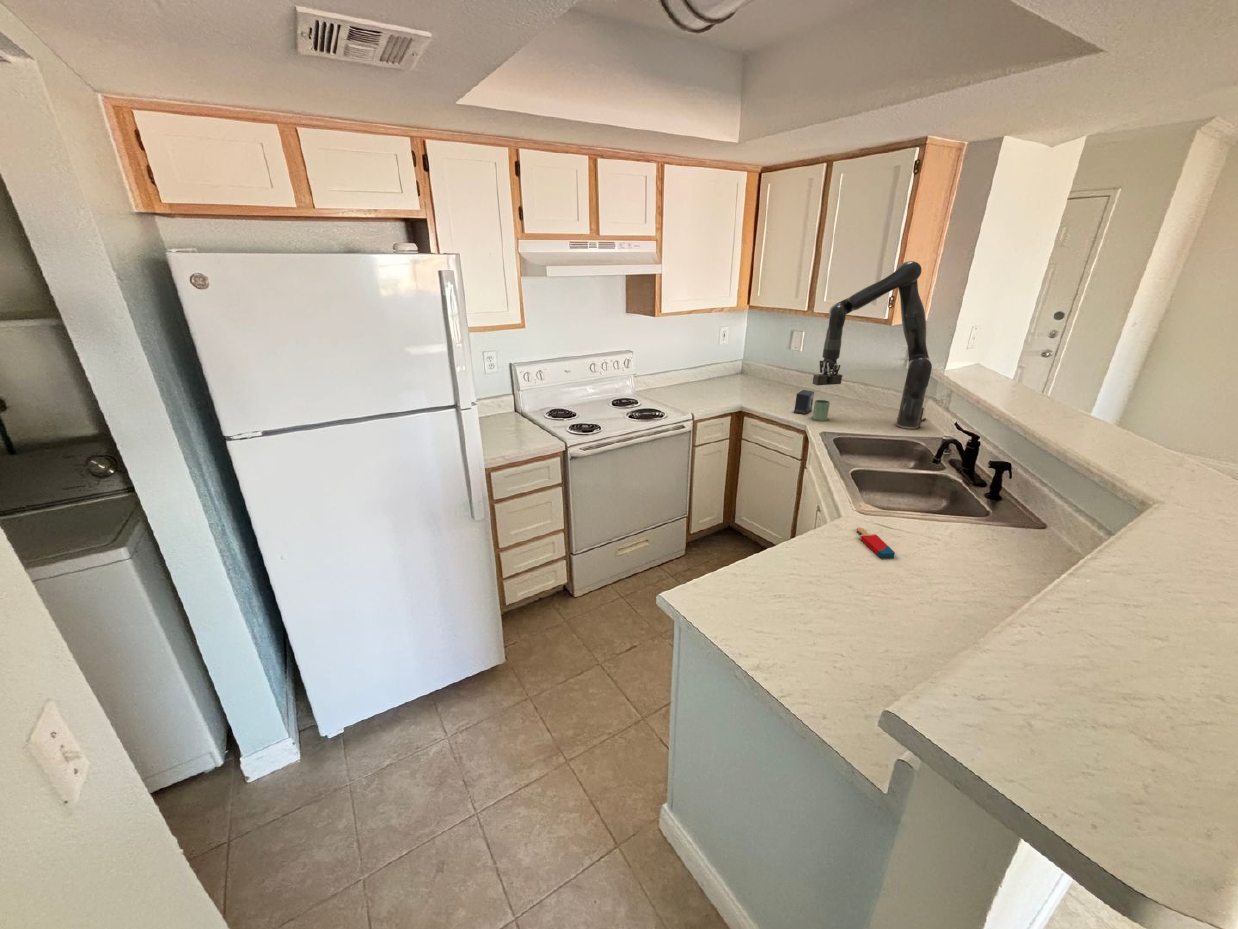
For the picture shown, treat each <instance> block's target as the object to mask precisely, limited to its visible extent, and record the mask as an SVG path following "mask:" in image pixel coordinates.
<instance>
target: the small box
mask: <svg viewBox="0 0 1238 929" xmlns="http://www.w3.org/2000/svg"><path fill="white" fill-rule="evenodd" d="M814 398H815V391H814V390H813V391H812V390H808V389H802V390H800V391H798V392H797V393H796V397H795V402H794V403H795V404H794V409H793V413H794V414H800V415H806V414H808V413H809V412H810V413H811V411H812V410H813V406H814V405H813V403H814Z"/></svg>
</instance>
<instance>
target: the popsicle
mask: <svg viewBox="0 0 1238 929" xmlns="http://www.w3.org/2000/svg"><path fill="white" fill-rule="evenodd" d="M856 531H857V532H858V533H859V534H860V536H859V540H860V541H861V542H862V543H864V544H865V545H866V546H867V547H868V548H869V549H870V550H871V551H872V552H873V553H874V554H875V555H876V556H878V557H879V558H880V559H889V558H891V559H892V558H895V554H896V552H895V551H894V550H893V549H892V548H891V547H890V546H889V545H887V543H886V542H885V541H884V540H883V539H882V538H881V537H880V536H879V535H878V534H876V533H868V532H867V530H866V529H864V528H863V527H856Z"/></svg>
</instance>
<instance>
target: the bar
mask: <svg viewBox="0 0 1238 929" xmlns="http://www.w3.org/2000/svg"><path fill="white" fill-rule="evenodd" d="M828 377H829V376H828V374H822V373H817V374H813V377H812V382H811V383H812V385H814V386H829V385H828V384H827V382H828ZM842 379H843V374H842V373H841V374H840V373H838V374H837V376H835V377H833V382H832V384H831V385H833V386H834V385H842ZM831 385H830V386H831Z"/></svg>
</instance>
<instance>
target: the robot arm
mask: <svg viewBox="0 0 1238 929" xmlns="http://www.w3.org/2000/svg"><path fill="white" fill-rule="evenodd" d="M922 269H923V268H922V266H921V264H920V263H918V262H917V261H913V260H910V261H905V262H902V263H900V264H899V265H898V266H897V267H896V269H895V271H893V272H892V273H891V274H889V275H888V276H886V277H884V278H883V279H881V280H879V281H877V282H875V283H873V284H870V285H868V286H867V287H864V288H862V289H861V290H859V291H857V292H855V293H853V294H851V295H850V296H849V297H847V298H845V299H843V300H841V301H838V302H836V303H835V304H833V305H832V306H831V307H830V308H829V310H828V315H829V320H828V326H827V329H826V332H825V333H826V334H825V339H824V343H823V349H822V358H823V360H819V374H828V376H829V377H828V382H827V384H828V385H827V386H831V384H832V382H833V377H835V376H837V374H839V371H840V369H841V364H838V362H837V361H838V359H839V358H840V354H841V349H842V338H843V332H844V325H845V322H846V317H847V315H848V314H850V313H852V312H853V311H854V312H855V311H858V310H859V309H861V308H864V307H866V306H867V305H870V303H872V302H874V301H875V300H877V299H879V298H881V297H882V296H884V295H886V294H888V293H890V292H891V291H894V290H895V289H898V292H899V293H898V294H899V300H900V301H899V303H900V317H901V318H900V319H901V327H902V332H903V334H904V335H903V336H904V339H905V343H906V345H907V354H908V355H907V356H908V359H907V361H908V362H907V372H906V377H905V382H904V385H903V390H902V394H901V400H900V404H899V410H898V414H897V417H896V422H895V425H896V427H898V428H901V429H907V430H916V429H918V428H920V427H921V424H922V422H924V421H927V418H926V417H924V418H923V415H924V410H925V407H924V403H925V397H926V393H927V390H928V386H929V382H930V378H931V375H932V370H933V364H932V361H931V359H930V356H929V351H928V347H927V317H926V311H925V307H924V304H923V301H922V299H921V296H920V293H919V285H918V284H919V282H918V279H919V278H920V277H921V275H922Z"/></svg>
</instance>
